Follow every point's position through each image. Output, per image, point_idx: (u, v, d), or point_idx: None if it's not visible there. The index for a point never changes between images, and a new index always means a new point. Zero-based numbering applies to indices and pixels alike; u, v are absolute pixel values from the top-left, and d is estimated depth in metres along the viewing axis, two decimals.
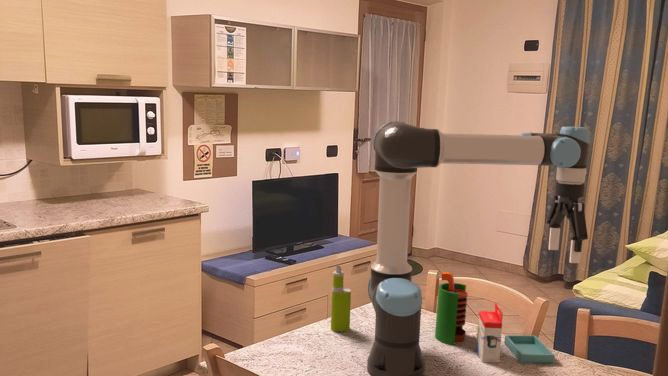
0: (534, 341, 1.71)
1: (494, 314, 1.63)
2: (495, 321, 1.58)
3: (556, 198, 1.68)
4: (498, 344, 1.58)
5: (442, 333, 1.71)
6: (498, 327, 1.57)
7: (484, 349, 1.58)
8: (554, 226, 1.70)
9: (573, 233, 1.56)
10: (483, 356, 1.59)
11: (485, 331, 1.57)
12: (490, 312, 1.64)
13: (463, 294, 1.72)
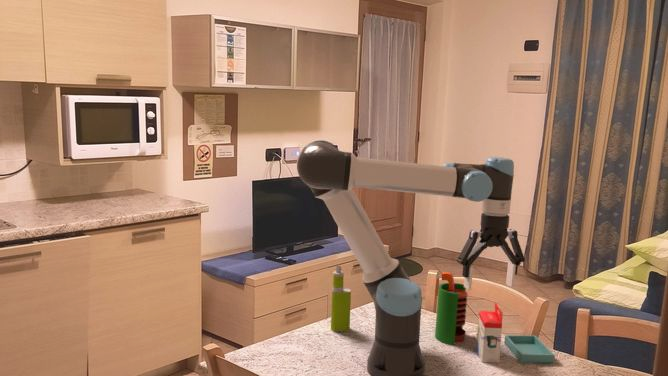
0: (534, 341, 1.71)
1: (494, 314, 1.63)
2: (495, 321, 1.58)
3: None
4: (498, 344, 1.58)
5: (442, 333, 1.71)
6: (498, 327, 1.57)
7: (484, 349, 1.58)
8: (512, 262, 1.64)
9: None
10: (483, 356, 1.59)
11: (485, 331, 1.57)
12: (490, 312, 1.64)
13: (463, 294, 1.72)
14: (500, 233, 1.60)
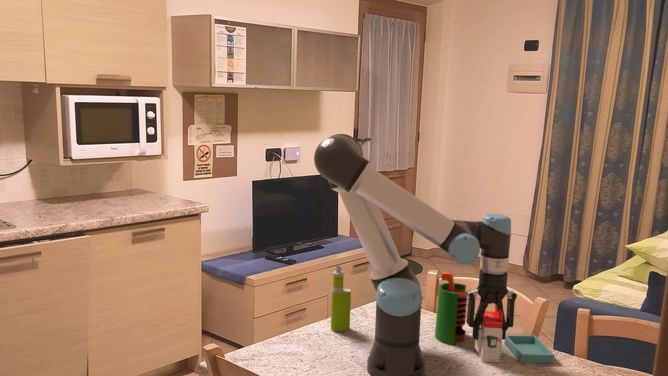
0: (534, 341, 1.71)
1: (494, 314, 1.63)
2: (495, 321, 1.58)
3: None
4: (498, 344, 1.58)
5: (442, 333, 1.71)
6: (498, 327, 1.57)
7: (484, 349, 1.58)
8: None
9: None
10: (483, 356, 1.59)
11: (485, 331, 1.57)
12: (490, 312, 1.64)
13: (463, 294, 1.72)
14: (500, 291, 1.59)
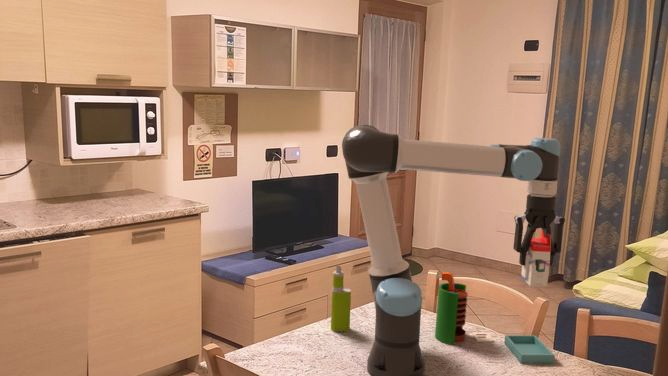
0: (534, 341, 1.71)
1: (541, 240, 1.62)
2: (544, 245, 1.57)
3: None
4: (546, 268, 1.57)
5: (442, 333, 1.71)
6: (547, 251, 1.56)
7: (532, 273, 1.58)
8: None
9: None
10: (531, 280, 1.58)
11: (534, 255, 1.57)
12: (536, 239, 1.63)
13: (463, 294, 1.72)
14: (548, 215, 1.58)
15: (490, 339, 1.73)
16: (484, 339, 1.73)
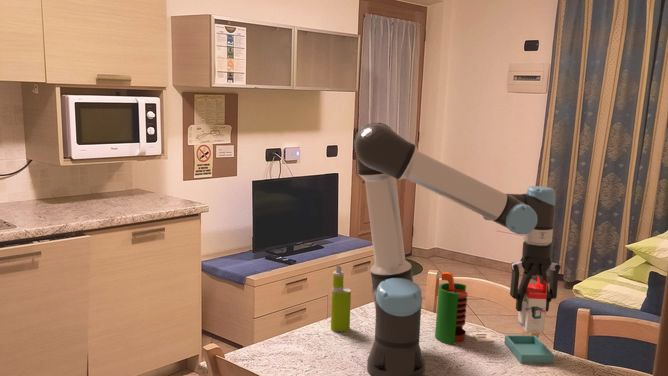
0: (534, 341, 1.71)
1: (537, 286, 1.64)
2: (539, 292, 1.59)
3: None
4: (542, 315, 1.59)
5: (442, 333, 1.71)
6: (543, 298, 1.58)
7: (529, 320, 1.60)
8: None
9: None
10: (527, 327, 1.60)
11: (530, 302, 1.59)
12: (533, 284, 1.65)
13: (463, 294, 1.72)
14: (543, 262, 1.60)
15: (490, 339, 1.73)
16: (484, 339, 1.73)
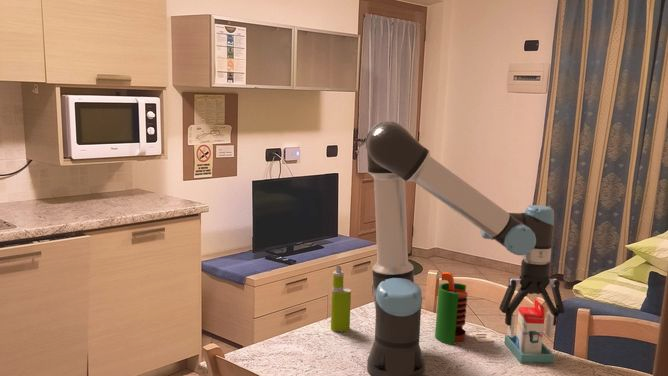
0: None
1: (534, 310, 1.65)
2: (537, 316, 1.60)
3: None
4: (540, 339, 1.60)
5: (442, 333, 1.71)
6: (541, 323, 1.60)
7: (526, 344, 1.61)
8: (551, 312, 1.64)
9: None
10: (525, 351, 1.61)
11: (527, 326, 1.60)
12: (530, 308, 1.67)
13: (463, 294, 1.72)
14: (541, 281, 1.61)
15: (490, 339, 1.73)
16: (484, 339, 1.73)
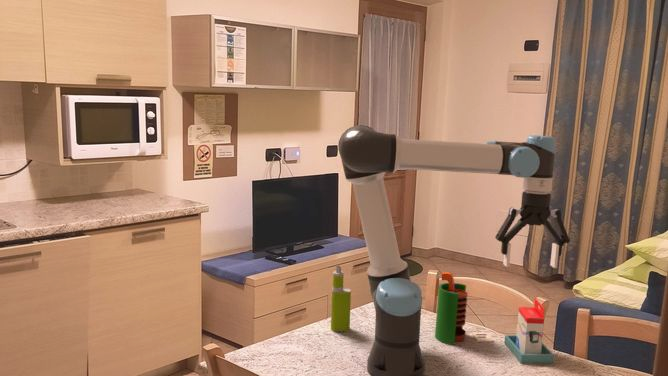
0: None
1: (534, 310, 1.65)
2: (537, 316, 1.60)
3: None
4: (540, 339, 1.60)
5: (442, 333, 1.71)
6: (541, 323, 1.60)
7: (526, 344, 1.61)
8: (556, 242, 1.62)
9: None
10: (525, 351, 1.61)
11: (527, 327, 1.60)
12: (530, 308, 1.67)
13: (463, 294, 1.72)
14: (541, 212, 1.59)
15: (490, 339, 1.73)
16: (484, 339, 1.73)
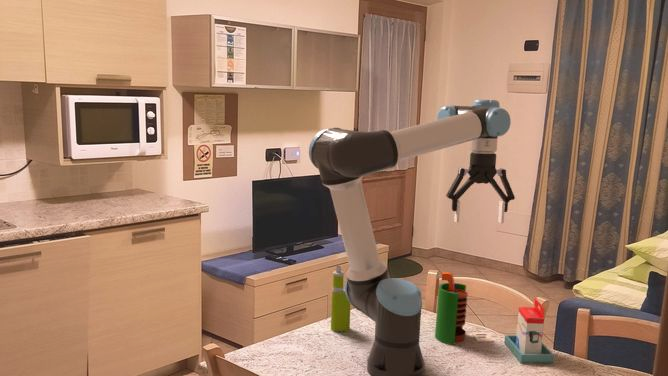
0: None
1: (534, 310, 1.65)
2: (537, 316, 1.60)
3: None
4: (540, 339, 1.60)
5: (442, 333, 1.71)
6: (541, 323, 1.60)
7: (526, 344, 1.61)
8: (503, 199, 1.74)
9: None
10: (525, 351, 1.61)
11: (527, 327, 1.60)
12: (530, 308, 1.67)
13: (463, 294, 1.72)
14: (488, 170, 1.71)
15: (490, 339, 1.73)
16: (484, 339, 1.73)
